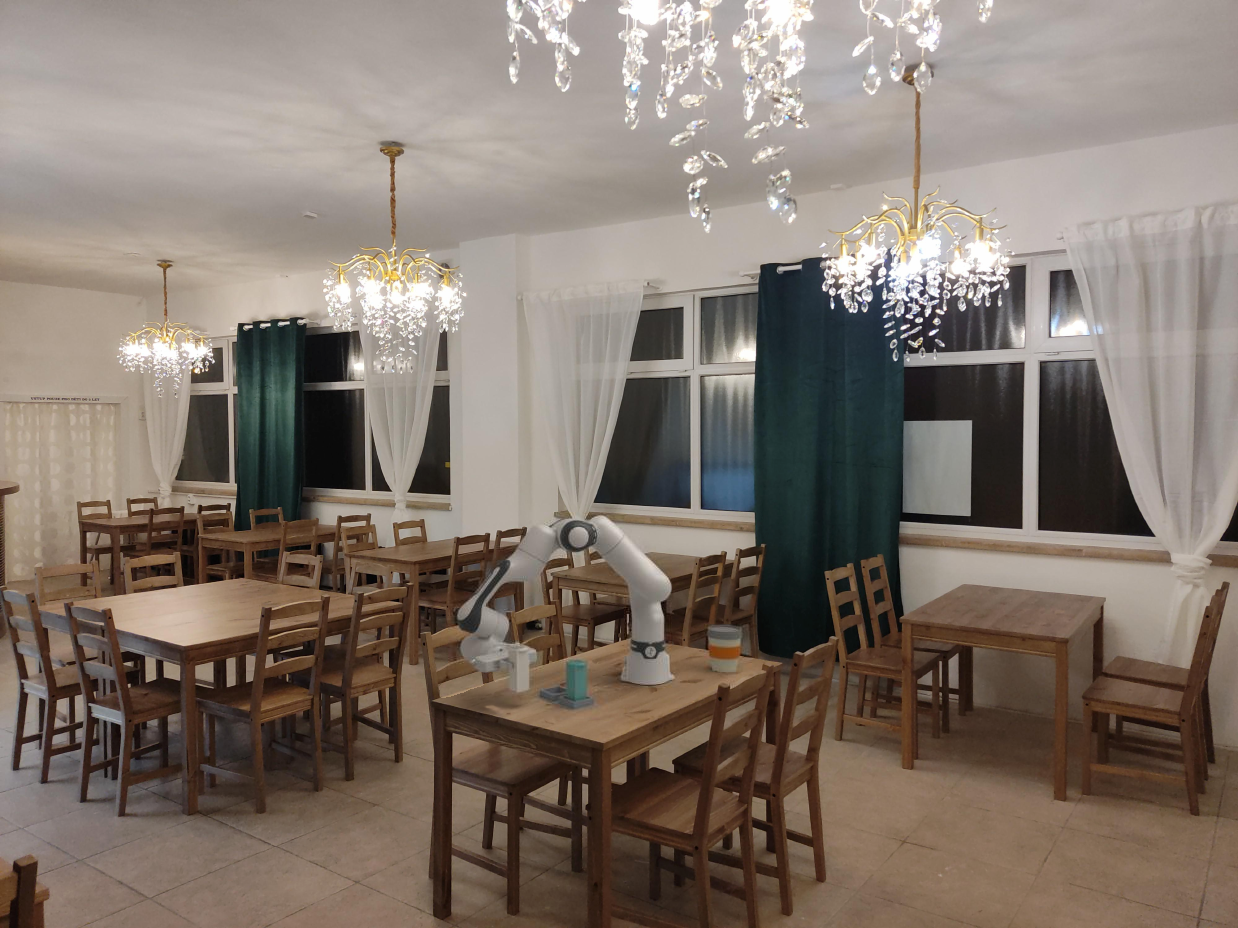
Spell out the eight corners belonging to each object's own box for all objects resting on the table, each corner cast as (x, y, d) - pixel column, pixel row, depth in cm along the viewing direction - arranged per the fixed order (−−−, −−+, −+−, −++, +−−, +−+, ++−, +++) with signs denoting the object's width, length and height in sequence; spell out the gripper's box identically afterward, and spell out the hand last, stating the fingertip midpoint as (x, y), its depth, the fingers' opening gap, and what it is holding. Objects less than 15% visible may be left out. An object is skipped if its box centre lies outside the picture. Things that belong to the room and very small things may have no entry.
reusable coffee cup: (743, 666, 323) (743, 625, 323) (739, 675, 311) (740, 632, 311) (709, 663, 326) (710, 623, 326) (704, 672, 314) (704, 630, 314)
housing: (534, 700, 279) (534, 689, 278) (559, 694, 285) (559, 684, 285) (573, 715, 264) (573, 704, 263) (599, 709, 270) (599, 697, 270)
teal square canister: (563, 703, 271) (563, 661, 270) (577, 699, 275) (577, 658, 274) (574, 707, 267) (575, 665, 266) (589, 704, 270) (589, 662, 270)
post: (506, 689, 268) (505, 646, 268) (521, 685, 272) (520, 644, 272) (516, 693, 264) (516, 650, 264) (531, 689, 268) (531, 647, 268)
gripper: (466, 651, 271) (491, 660, 260) (521, 640, 284) (546, 648, 274) (466, 671, 271) (491, 681, 261) (521, 660, 284) (547, 668, 274)
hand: (520, 664), depth 267 cm, fingers closed on post, 4 cm apart
